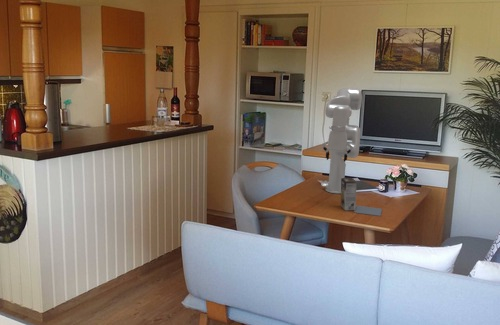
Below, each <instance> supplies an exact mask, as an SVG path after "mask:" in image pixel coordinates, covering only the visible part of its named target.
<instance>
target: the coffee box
mask: <svg viewBox="0 0 500 325" xmlns="http://www.w3.org/2000/svg"><path fill="white" fill-rule="evenodd" d="M356 206H357V180H355V179H354V178H353V177H345V178H341V194H340V207H341V208H342V209H343V210H344V211H355V210H356Z"/></svg>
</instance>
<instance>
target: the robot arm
mask: <svg viewBox="0 0 500 325" xmlns="http://www.w3.org/2000/svg"><path fill="white" fill-rule="evenodd" d="M362 97H363V95H362V91H361V90H360V89H358V88H352V87H351V88H348V87H342V88H339V89H338V90H337V92H336V95H335V96H334V97H333V98H330V99H329V100H328V101H327V102H326V105H325V112H324V113H325V116H326V117H327V118H329V119H330V118H331V119H332V123H331V124H332V125H331V126H329V127H328V128H329V135H328V140H327V141H325V142H322V143H321V147H322V149H323V150H324V152H325V159H326V161H327V160H329V158H330V160H329V161H330V162H329V173H328V174H329V175H328V182H326V183H325V182H321V187H323V188H325V191H326V192H328V193H331V194H340V195H341V178H346V177H345V176H346V175H345V174H346V167H347V166H346V165H347V164H346V161H347V160H348V158H353V159H356V158H357V157H358V156H359V154H360V143H361V128H360V127H359V126H358V125H354V124H350V117H351V116H352V113H353V112H352V111H358V110H360V109H361V108H362V102H363V101H362V100H363V98H362ZM326 145H327V147H326Z"/></svg>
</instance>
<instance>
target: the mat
mask: <svg viewBox="0 0 500 325" xmlns="http://www.w3.org/2000/svg"><path fill="white" fill-rule="evenodd" d="M382 212H383V209H382V208H378V207H370V206H366V205H365V206H363V205H356V210H353V213H354V214H361V215H368V216H374V217H375V216H376V217H382V216H381V215H382Z"/></svg>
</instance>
